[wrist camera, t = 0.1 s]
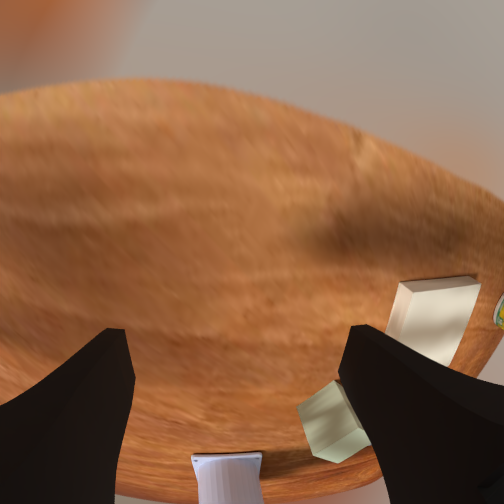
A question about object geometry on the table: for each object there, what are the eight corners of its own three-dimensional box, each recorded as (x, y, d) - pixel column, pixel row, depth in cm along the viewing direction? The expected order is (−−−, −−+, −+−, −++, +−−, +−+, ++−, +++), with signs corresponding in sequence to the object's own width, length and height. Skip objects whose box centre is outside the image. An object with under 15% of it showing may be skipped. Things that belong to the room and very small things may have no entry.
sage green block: (320, 419, 25) (338, 463, 20) (296, 406, 24) (312, 455, 18) (355, 396, 25) (378, 438, 19) (333, 379, 23) (358, 427, 17)
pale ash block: (439, 355, 25) (448, 365, 23) (370, 374, 24) (379, 387, 22) (468, 275, 22) (481, 283, 20) (399, 282, 20) (413, 292, 19)
